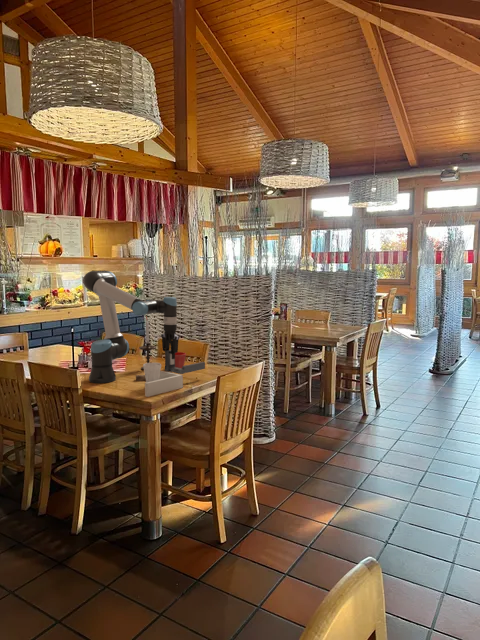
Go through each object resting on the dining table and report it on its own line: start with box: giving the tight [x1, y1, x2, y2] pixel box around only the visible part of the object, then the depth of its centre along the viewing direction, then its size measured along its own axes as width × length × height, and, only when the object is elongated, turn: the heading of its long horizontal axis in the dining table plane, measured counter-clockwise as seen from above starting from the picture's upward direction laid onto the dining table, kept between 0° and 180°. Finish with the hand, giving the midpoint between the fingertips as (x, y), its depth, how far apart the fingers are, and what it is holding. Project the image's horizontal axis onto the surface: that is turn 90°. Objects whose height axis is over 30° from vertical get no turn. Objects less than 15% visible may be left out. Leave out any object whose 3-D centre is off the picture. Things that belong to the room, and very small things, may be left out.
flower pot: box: [175, 351, 187, 368], centre depth 313 cm, size 11×11×10 cm
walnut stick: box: [135, 374, 146, 382], centre depth 280 cm, size 16×3×3 cm, turn 101°
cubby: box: [144, 370, 184, 398], centre depth 258 cm, size 19×24×7 cm
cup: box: [142, 362, 162, 383], centre depth 261 cm, size 10×10×13 cm
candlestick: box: [138, 315, 157, 371], centre depth 309 cm, size 11×11×35 cm
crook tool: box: [164, 349, 206, 375], centre depth 280 cm, size 14×20×12 cm
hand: (170, 363), depth 276 cm, fingers closed on crook tool, 3 cm apart
